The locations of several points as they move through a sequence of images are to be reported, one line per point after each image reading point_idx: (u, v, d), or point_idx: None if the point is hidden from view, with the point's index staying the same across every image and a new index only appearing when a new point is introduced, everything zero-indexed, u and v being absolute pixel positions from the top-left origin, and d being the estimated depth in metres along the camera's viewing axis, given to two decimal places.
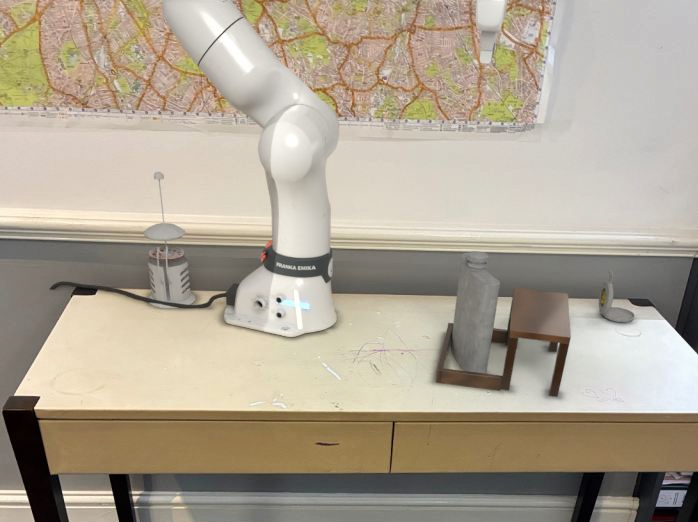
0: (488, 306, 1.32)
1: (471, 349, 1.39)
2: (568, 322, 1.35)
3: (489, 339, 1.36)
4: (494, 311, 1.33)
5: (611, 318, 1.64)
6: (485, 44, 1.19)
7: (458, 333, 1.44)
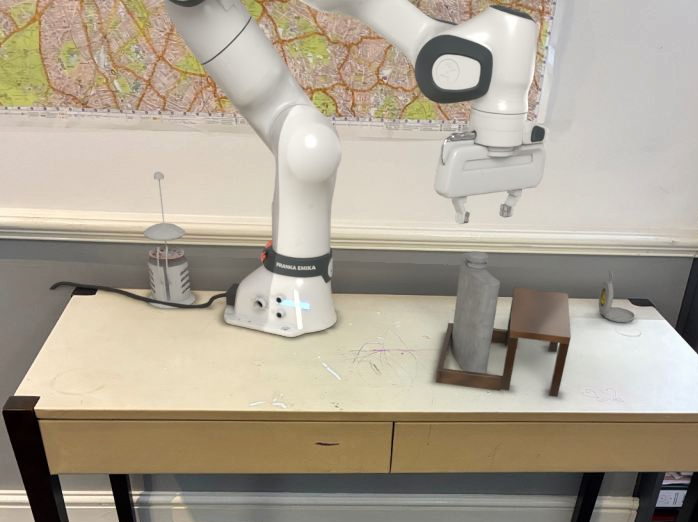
0: (488, 306, 1.32)
1: (471, 349, 1.39)
2: (568, 322, 1.35)
3: (489, 339, 1.36)
4: (494, 311, 1.33)
5: (611, 318, 1.64)
6: None
7: (458, 333, 1.44)
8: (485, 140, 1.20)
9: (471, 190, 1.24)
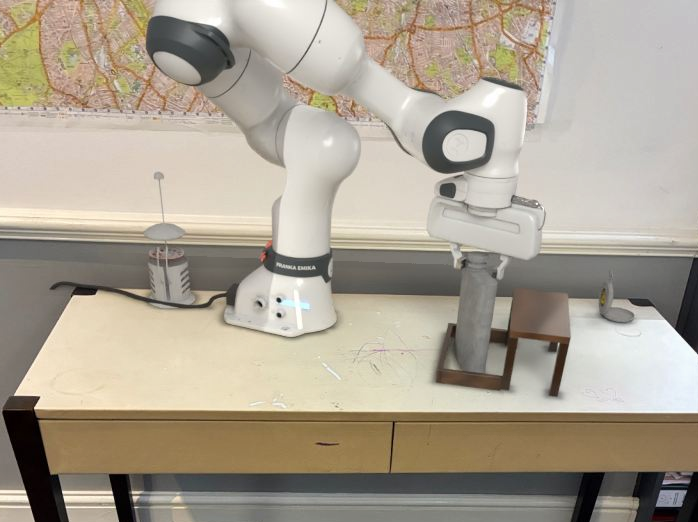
0: (485, 307, 1.32)
1: (469, 349, 1.39)
2: (568, 322, 1.35)
3: (487, 339, 1.36)
4: (491, 311, 1.33)
5: (611, 318, 1.64)
6: None
7: (459, 333, 1.44)
8: None
9: None
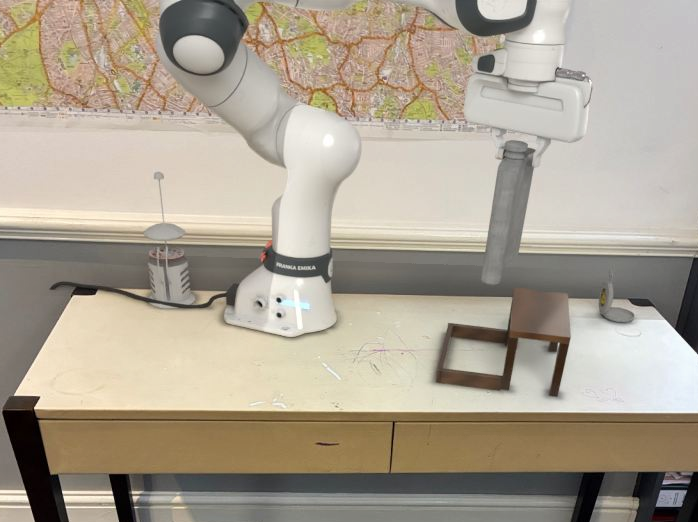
0: (499, 198, 1.20)
1: None
2: (568, 322, 1.35)
3: (500, 238, 1.24)
4: (507, 206, 1.21)
5: (611, 318, 1.64)
6: None
7: None
8: None
9: None
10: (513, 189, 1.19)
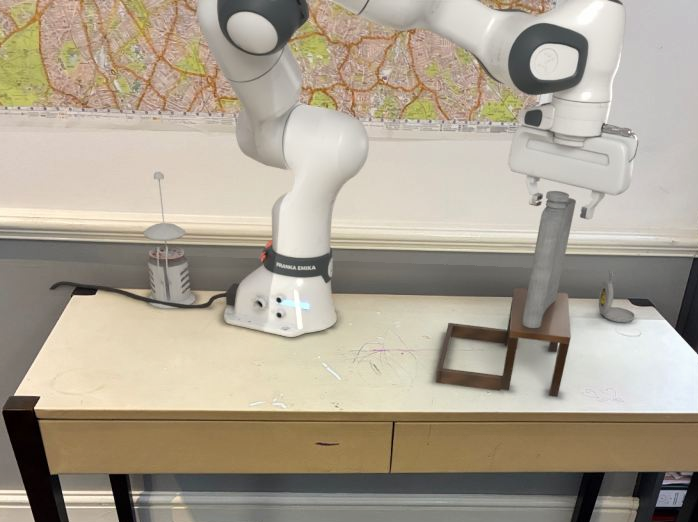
0: (542, 246, 1.24)
1: (527, 292, 1.31)
2: (568, 322, 1.35)
3: (543, 284, 1.28)
4: (550, 253, 1.25)
5: (611, 318, 1.64)
6: None
7: None
8: None
9: None
10: (556, 237, 1.23)
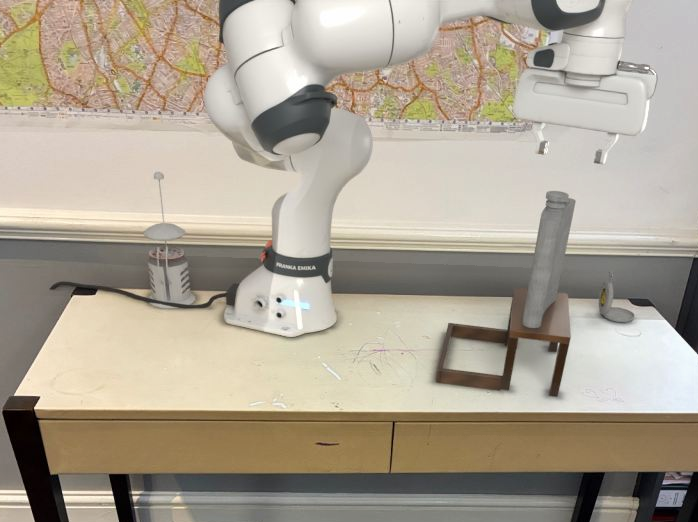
0: (542, 246, 1.24)
1: (527, 293, 1.31)
2: (568, 322, 1.35)
3: (542, 284, 1.28)
4: (550, 253, 1.25)
5: (611, 318, 1.64)
6: None
7: None
8: None
9: None
10: (556, 237, 1.23)
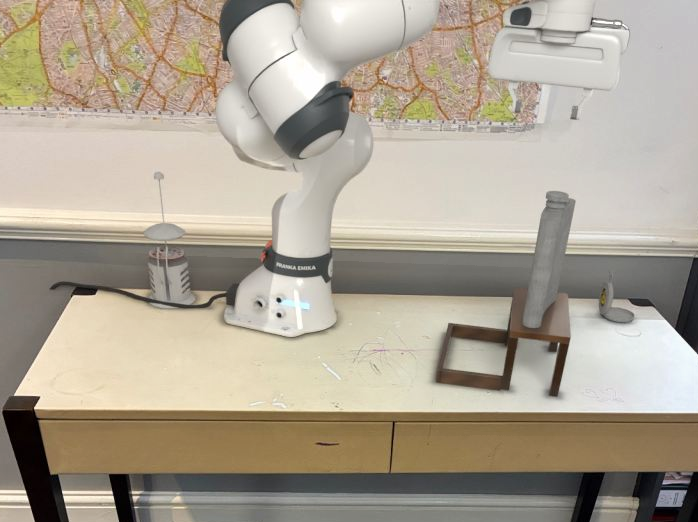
0: (542, 246, 1.24)
1: (527, 293, 1.31)
2: (568, 322, 1.35)
3: (542, 284, 1.28)
4: (550, 253, 1.25)
5: (611, 318, 1.64)
6: None
7: None
8: None
9: None
10: (556, 237, 1.23)
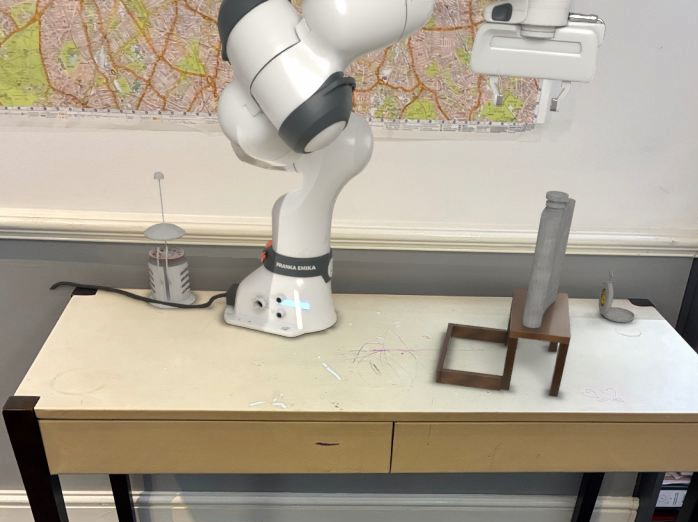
0: (542, 246, 1.24)
1: (527, 292, 1.31)
2: (568, 322, 1.35)
3: (542, 284, 1.28)
4: (550, 253, 1.25)
5: (611, 318, 1.64)
6: None
7: None
8: None
9: None
10: (556, 237, 1.23)
